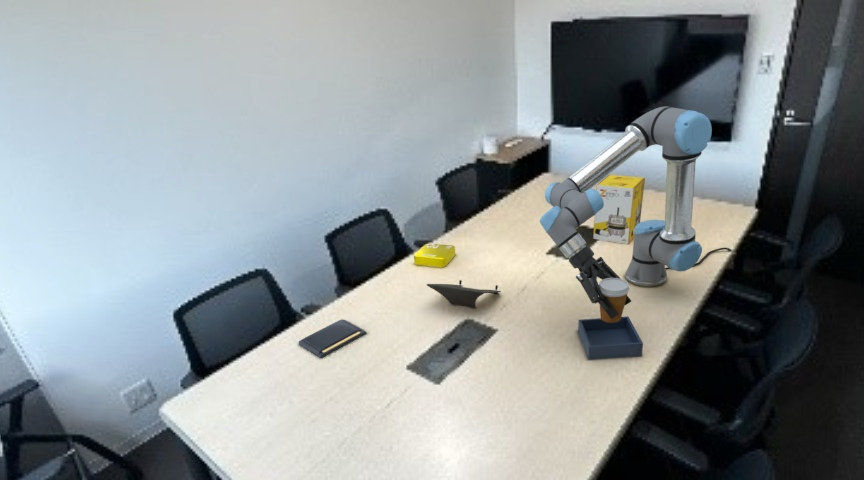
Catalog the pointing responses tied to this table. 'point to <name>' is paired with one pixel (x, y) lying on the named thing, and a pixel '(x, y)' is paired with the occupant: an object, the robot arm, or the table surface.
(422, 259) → the element tile
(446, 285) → the dark gray curved stand
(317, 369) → the table surface
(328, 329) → the wallet
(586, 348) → the bin
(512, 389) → the table surface
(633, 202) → the packaging box
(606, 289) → the disposable coffee cup
